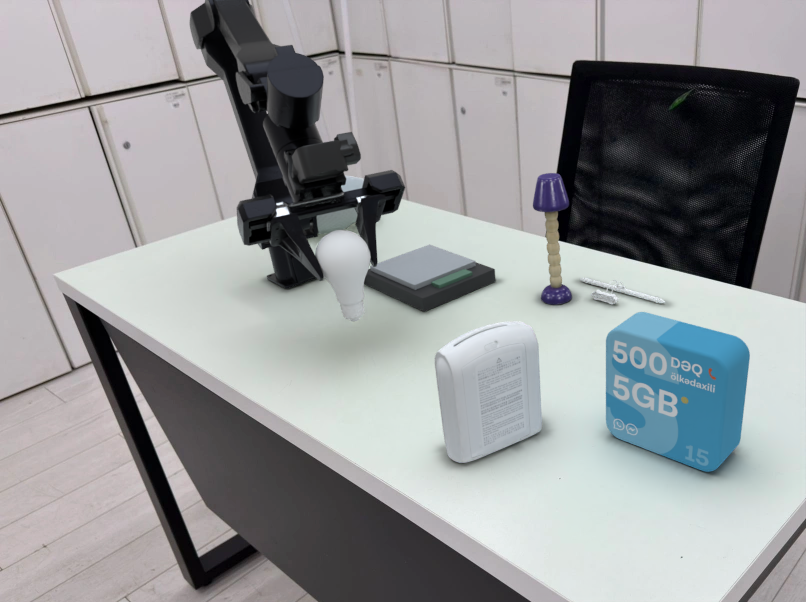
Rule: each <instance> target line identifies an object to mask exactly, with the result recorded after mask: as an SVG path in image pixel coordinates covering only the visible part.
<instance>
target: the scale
mask: <svg viewBox="0 0 806 602" xmlns="http://www.w3.org/2000/svg"><path fill="white" fill-rule="evenodd" d="M496 282H497V279H496V269H495V268H493V267H490V266H488V265H484V264H483V263H479V262H477V261H476V260H474V259H471V258H469V257H466V256H463V255H460V254H459V253H455V252H453V251H450V250H447V249H444V248H440V247H438V246H435V245H432V244H426V245H424V246H421V247H418V248H415V249H413V250H410V251H407V252H405V253H402V254H399V255H397V256H394V257H391V258H388V259H386V260H382V261H380V262H378V263H377V266H376V267H373V266H372V264H370V265H369V268H368V272H367V274H366V277H365V280H364V286H365V285H366V286H367V287H369V288H371V289H373V290H376V291H378V292H380V293H383V294H384V295H386V296H389V297H391V298H393V299H396V300H398V301H400V302H402V303H405V304H406V305H409V306H411V307H413V308H415V309H417V310H420V311H421V312H427V311H430V310H432V309H434V308H436V307H440V306H442V305H444V304H446V303H449V302H451V301H453V300H456V299H458V298H460V297H462V296H466V295H467V294H470V293H471V292H475V291H478V290H479V289H482V288H484V287H486V286H489V285H491V284H493V283H496Z"/></svg>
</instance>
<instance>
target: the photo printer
mask: <svg viewBox="0 0 806 602" xmlns="http://www.w3.org/2000/svg"><path fill="white" fill-rule="evenodd" d="M434 370H435V378H436V385H437V386H436V387H437V394H438V402H439V410H440V417H441V426H442V433H443V440H444V446H445V448H446V454H447V456H448V458H450V460H452V461H454V462H456V463H460V464H462V463H464V464H466V463H469V462H470V463H471V462H473V461H475V460H479V459H481V458H483V457H485V456H488V455H491V454H493V453H495V452H498V451H500V450H502V449H504V448H507V447H509V446H511V445H514V444H516V443H518V442H521V441H523V440H526V439H528V438H531V437H532V436H534V435H536V434H538V433H540V432H541V430H542V429H543V415H542V413H543V412H542V393H541V392H542V391H541V373H540V372H541V371H540V349H539V341H538V338H537V335H536V332H535V331H534V329H533V327H532V326H531V325H530V324H526V323H525V321H519V320H518V321H517V320H515V321H514V320H508V321H507V320H506V321H501V322H494V323H489V324H487V325H482V326H480V327H477V328H473V329H472V330H469V331H467V332H465V333H463V334H461V335H458V336H457V337H455V338H454V339H452V340H450V341H449V342H447V343H446V344H445V345H443V346H442V347H441V348H440V349H438V350H437V351H436V353H435V354H434Z"/></svg>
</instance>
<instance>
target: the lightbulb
mask: <svg viewBox="0 0 806 602" xmlns="http://www.w3.org/2000/svg"><path fill="white" fill-rule="evenodd" d="M314 254H315V256H316V258H317V260H318V262H319V264H320V267H321V270H322V273H323V276H324V279H325V280H326V281H327V282H328V283H329V285H330V286H331V288H332V289H333V292H334V294H335V297H336V301H337V302H338V304H339V307H340V310H341V313H342V315H343V316H342V317H343V318H344V319H345V320H349V321H351V322H357V321H359V320H360V319H361V318H362V317H363V316H364V315H365V306H364V298H365V289H364V288H365V284H364V280H365V277H366V274H367V272H368V269H370V266H371V262H370V258H371V256H370V251H369V248H368V246H367V244H366V242H365V241H364V240H363V239H362V238H361V237H360V235H359V234H357V233H356V232H353V231H352V230H346V229H344V230H336V231H332V232H330V233H328V234H324V236H323V237H322V238H321V239H320V240H319V242H318V244H317V246H316V248H315V252H314Z"/></svg>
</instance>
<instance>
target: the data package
mask: <svg viewBox="0 0 806 602" xmlns="http://www.w3.org/2000/svg"><path fill="white" fill-rule="evenodd" d="M750 359H751V353H750V349H749V346H748V345H747V343H746V342H745V341H744V340H743V339H742V338H740V337H739V336H736V335H734V334H730V333H726V332H722V331H718V330H714V329H711V328H707V327H704V326H699V325H696V324H692V323H689V322H684V321H681V320H677V319H673V318H669V317H665V316H661V315H658V314H654V313H650V312H648V311H647V312H646V311H638V312H636V313H634V314H632V315H630V317H628V318H626V319H625V320H624V321H622V322H621V323H619V324H618V325H617V326H616V327H614V328H612V329H611V330H610V331H609V332H608V333H607V335H606V337H605V424H606V427H607V429H608V431H609V432H610V434H611V435H612V436H614V437H615V438H616V439H618V440H621V441H623V442H625V443H629V444H631V445H634V446H637V447H639V448H642V449H644V450H647V451H649V452H651V453H654V454H657V455H659V456H663V457H665V458H667V459H670V460H673V461H676V462H678V463H681V464H684V465H686V466H689V467H690V468H691V467H692V468H694V469H696V470H699V471H702V472H707V473H709V472H713V471H716V470H717V469H718V468H719V467H720V466H721V465H722V464H723V463H724V462H725V460H727V458H728V457H729V456H730V455H731V454H732V453H733V452H734V451H735V449H737V447H738V446H739V445H740V442H741V437H742V429H743V420H744V411H745V404H746V403H745V402H746V394H747V386H748V377H749V367H750Z"/></svg>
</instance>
